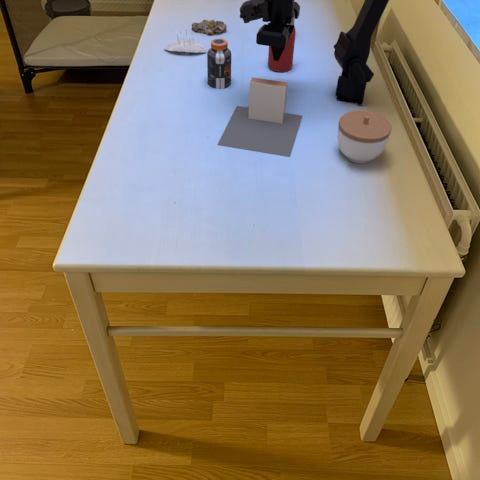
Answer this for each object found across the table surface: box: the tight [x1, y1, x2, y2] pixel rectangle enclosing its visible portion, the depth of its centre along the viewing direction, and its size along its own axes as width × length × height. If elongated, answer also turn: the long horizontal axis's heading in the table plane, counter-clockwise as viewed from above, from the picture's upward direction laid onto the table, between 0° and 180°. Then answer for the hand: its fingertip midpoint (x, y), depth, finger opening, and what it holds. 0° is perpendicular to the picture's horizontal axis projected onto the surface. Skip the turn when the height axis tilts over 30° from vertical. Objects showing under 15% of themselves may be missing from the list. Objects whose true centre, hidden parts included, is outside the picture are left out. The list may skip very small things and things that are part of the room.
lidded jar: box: [336, 110, 393, 164], centre depth 106 cm, size 11×11×9 cm
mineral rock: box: [191, 19, 228, 37], centre depth 153 cm, size 11×4×8 cm
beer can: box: [267, 21, 296, 73], centre depth 133 cm, size 7×7×12 cm
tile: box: [248, 76, 289, 123], centre depth 115 cm, size 8×2×9 cm, turn 76°
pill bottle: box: [206, 38, 232, 90], centre depth 126 cm, size 6×6×11 cm
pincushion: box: [163, 29, 208, 55], centre depth 141 cm, size 12×6×6 cm, turn 85°
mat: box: [217, 105, 303, 158], centre depth 115 cm, size 16×17×1 cm
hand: (276, 60), depth 116 cm, fingers closed
